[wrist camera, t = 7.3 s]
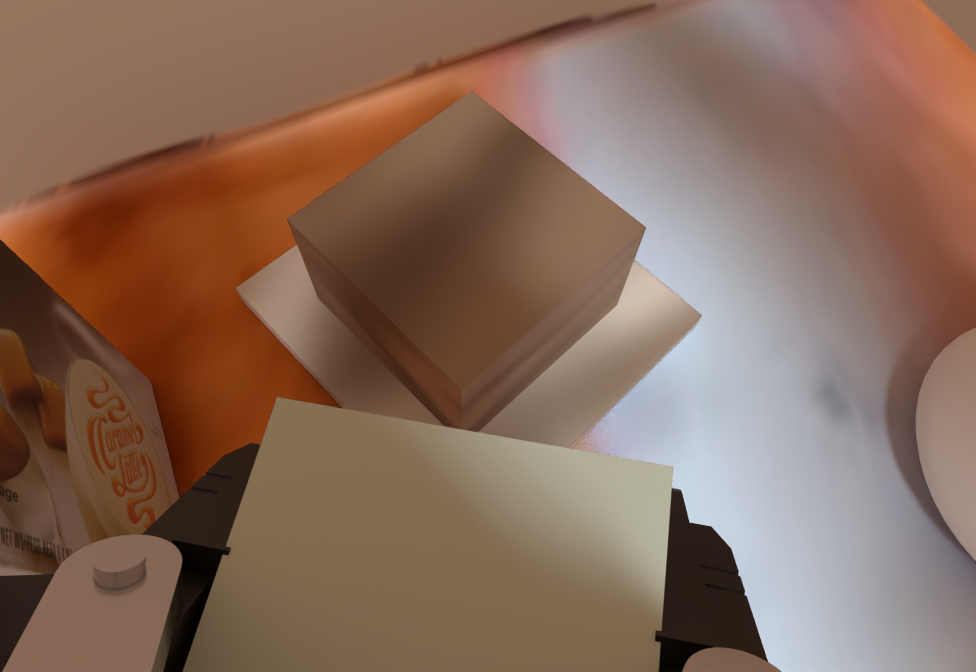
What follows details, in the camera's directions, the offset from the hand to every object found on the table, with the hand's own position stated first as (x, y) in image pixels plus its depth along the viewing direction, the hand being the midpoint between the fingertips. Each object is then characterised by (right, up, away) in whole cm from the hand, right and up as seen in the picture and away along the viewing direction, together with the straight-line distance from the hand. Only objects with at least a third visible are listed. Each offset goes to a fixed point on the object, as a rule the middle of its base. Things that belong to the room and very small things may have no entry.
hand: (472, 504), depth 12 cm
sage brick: (0, -4, +3) cm, 5 cm away
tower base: (-1, +4, +16) cm, 16 cm away
